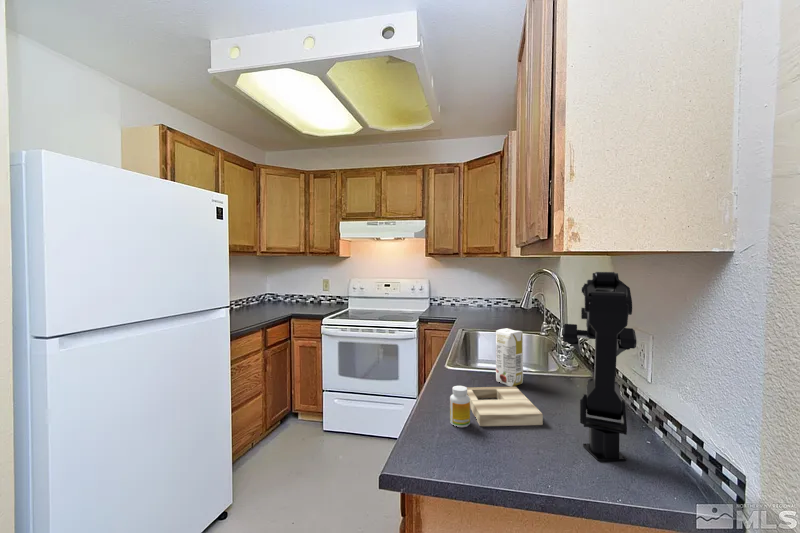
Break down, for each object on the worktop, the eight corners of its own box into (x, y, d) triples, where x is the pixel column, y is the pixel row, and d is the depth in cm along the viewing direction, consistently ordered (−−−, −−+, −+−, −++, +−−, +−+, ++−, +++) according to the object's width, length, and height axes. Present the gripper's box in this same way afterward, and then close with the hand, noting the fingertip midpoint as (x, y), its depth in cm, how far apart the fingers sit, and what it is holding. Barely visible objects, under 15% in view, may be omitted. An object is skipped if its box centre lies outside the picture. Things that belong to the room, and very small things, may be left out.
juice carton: (512, 388, 120) (512, 333, 119) (492, 381, 127) (492, 329, 127) (525, 383, 124) (526, 331, 124) (506, 377, 131) (506, 327, 131)
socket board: (542, 424, 93) (542, 413, 93) (480, 426, 93) (480, 415, 93) (515, 395, 113) (515, 386, 113) (464, 396, 113) (464, 387, 113)
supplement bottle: (474, 425, 93) (473, 390, 93) (456, 429, 91) (456, 393, 91) (463, 417, 98) (463, 383, 98) (446, 420, 96) (446, 386, 96)
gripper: (634, 300, 101) (629, 339, 109) (563, 297, 110) (564, 333, 117) (639, 327, 93) (633, 366, 101) (562, 321, 101) (563, 358, 109)
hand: (596, 354), depth 107 cm, fingers open, 9 cm apart
